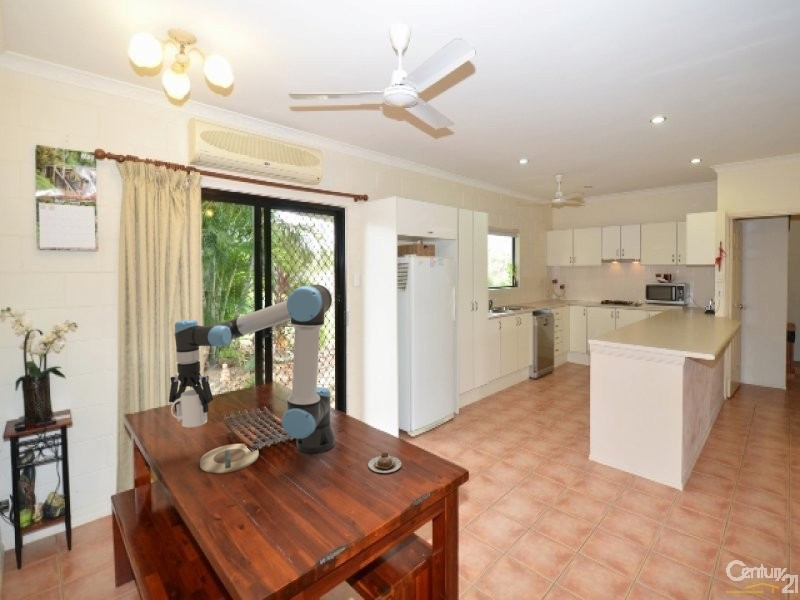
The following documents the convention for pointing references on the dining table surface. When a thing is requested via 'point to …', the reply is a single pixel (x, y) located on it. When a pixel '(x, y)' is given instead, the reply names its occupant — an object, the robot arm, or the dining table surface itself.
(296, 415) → the robot arm
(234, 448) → the cream saucer dish
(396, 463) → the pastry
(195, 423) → the mug
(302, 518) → the dining table surface
